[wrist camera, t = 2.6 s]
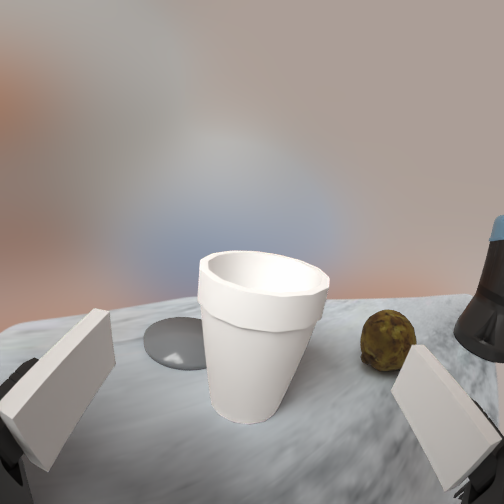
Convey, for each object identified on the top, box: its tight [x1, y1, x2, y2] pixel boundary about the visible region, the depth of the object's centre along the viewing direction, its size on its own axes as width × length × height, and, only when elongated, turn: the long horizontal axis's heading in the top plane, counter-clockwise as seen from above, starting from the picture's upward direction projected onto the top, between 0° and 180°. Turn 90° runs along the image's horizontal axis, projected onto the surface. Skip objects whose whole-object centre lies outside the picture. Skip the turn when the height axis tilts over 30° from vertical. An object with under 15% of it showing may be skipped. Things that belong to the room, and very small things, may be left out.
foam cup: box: [198, 251, 330, 424], centre depth 22 cm, size 10×9×13 cm
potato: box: [360, 310, 416, 371], centre depth 29 cm, size 8×13×8 cm, turn 119°
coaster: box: [144, 317, 207, 370], centre depth 31 cm, size 10×10×1 cm
